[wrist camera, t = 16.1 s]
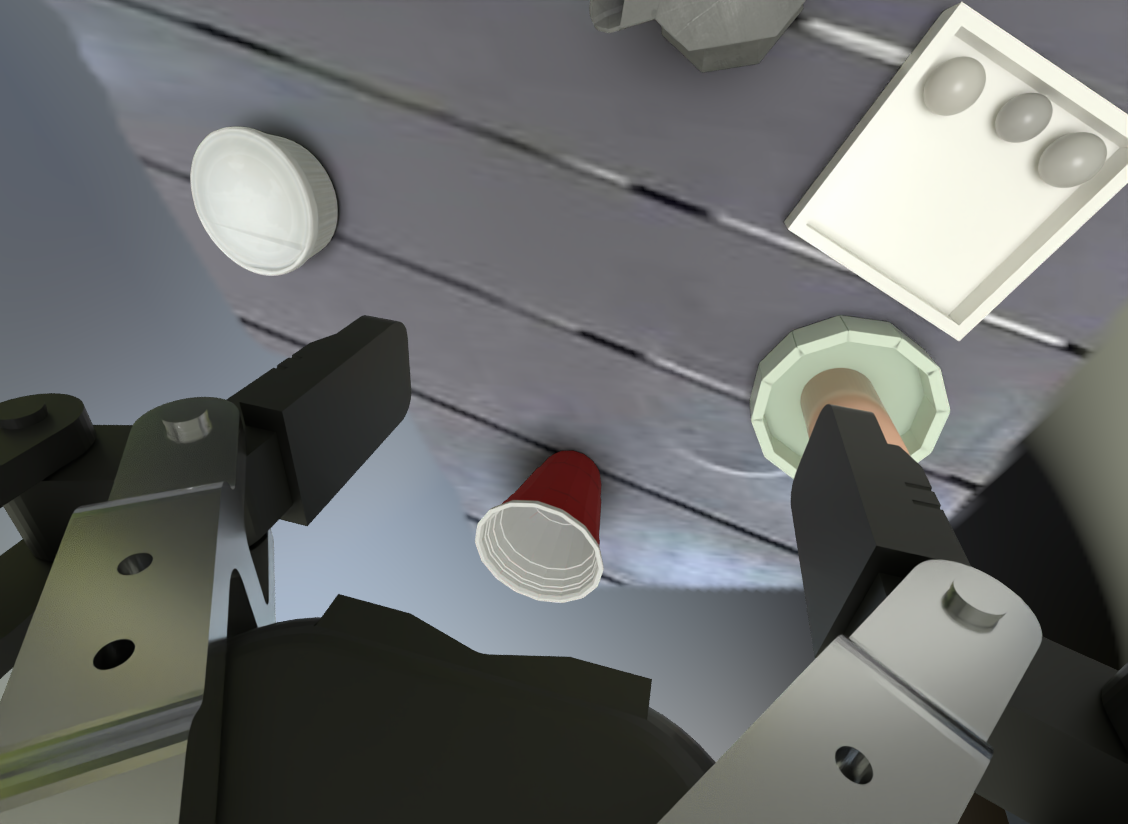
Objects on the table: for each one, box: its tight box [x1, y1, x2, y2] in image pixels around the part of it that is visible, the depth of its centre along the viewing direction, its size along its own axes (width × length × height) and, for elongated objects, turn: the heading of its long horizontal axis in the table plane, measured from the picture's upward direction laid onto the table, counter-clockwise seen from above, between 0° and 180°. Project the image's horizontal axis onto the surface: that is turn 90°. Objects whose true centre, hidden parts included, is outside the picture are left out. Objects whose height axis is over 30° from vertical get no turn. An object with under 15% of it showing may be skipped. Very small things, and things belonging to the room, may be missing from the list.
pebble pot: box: [800, 368, 910, 455], centre depth 40 cm, size 5×5×11 cm
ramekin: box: [191, 127, 338, 276], centre depth 47 cm, size 11×11×5 cm
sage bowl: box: [750, 315, 950, 479], centre depth 44 cm, size 13×13×4 cm
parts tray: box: [784, 2, 1128, 341], centre depth 35 cm, size 14×14×4 cm
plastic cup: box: [475, 451, 603, 603], centre depth 50 cm, size 11×11×12 cm
